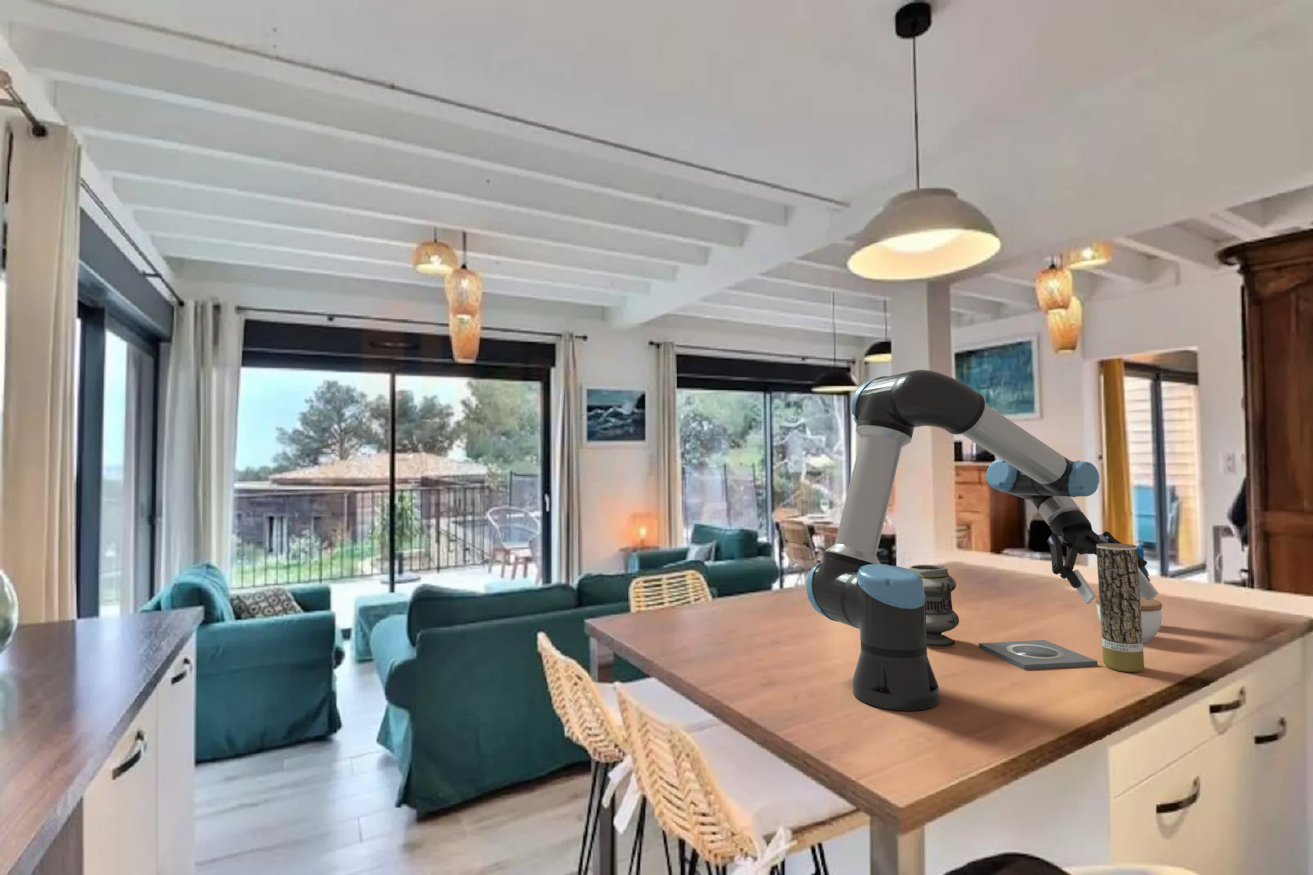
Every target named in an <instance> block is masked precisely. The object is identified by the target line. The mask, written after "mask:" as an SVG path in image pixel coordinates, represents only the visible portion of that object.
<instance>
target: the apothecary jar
mask: <svg viewBox="0 0 1313 875" xmlns="http://www.w3.org/2000/svg"><path fill="white" fill-rule="evenodd" d="M908 569H909V570H911V571H913V572H915V573H917V574H918V575H919V576H920V577H921V579H922V581H923V587H924V593H925V596H926V598H925V599H926V601H925V604H926V638H927V648H930V649H931V648H932V649H944V648H945V649H946V648H947V649H948V648H950V647H951V648H952V647H954V646H955V645H956V642H955V640H954V639H953V638H950V637H949V636H946V635H944V634H943V633H946V632H949V631H953V630H954V629H955V628H956V627H957V626H958V625H959V624H960V617H959V615H958V614H957V613H956V612H955V611H954V609H953V602H952V592H953V591H954V590H955V589H956V587H957V582H956V580H955V579H954V578H953V577H952V576H950V574H949V572H948V567H947V566H945V565H940V564H914V565H910V566H909V568H908Z"/></svg>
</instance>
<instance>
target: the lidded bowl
mask: <svg viewBox="0 0 1313 875" xmlns="http://www.w3.org/2000/svg"><path fill="white" fill-rule="evenodd" d="M1095 603H1096V611H1097V617H1098V620H1099V622H1100V624H1101V617H1100V600H1099V595H1098V596H1097V595H1096V597H1095ZM1140 604H1141V620H1142V636H1143V644H1145V643H1149V642H1150V640H1151V639H1152V638H1154V637H1155V636H1157V634H1158V633H1159V631H1160V629H1161V625H1162V619H1163V617H1162V616H1163V615H1162V613H1163V612H1162V608H1163V604H1162V602H1161V601H1160V600H1157V599H1154V598H1153V599H1152V600H1151V601H1148V600H1147V599H1146V598H1145V597H1140Z"/></svg>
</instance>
